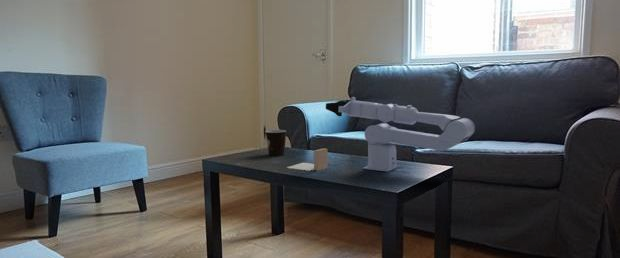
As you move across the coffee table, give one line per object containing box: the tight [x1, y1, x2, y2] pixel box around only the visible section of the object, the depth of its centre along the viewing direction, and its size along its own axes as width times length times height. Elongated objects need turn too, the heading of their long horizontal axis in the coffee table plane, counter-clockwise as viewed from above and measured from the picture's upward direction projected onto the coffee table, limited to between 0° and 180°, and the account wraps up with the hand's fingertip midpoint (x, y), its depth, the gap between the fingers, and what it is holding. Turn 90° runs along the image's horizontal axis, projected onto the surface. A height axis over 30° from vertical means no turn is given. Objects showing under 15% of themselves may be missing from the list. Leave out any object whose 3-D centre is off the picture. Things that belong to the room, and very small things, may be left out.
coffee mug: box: [265, 129, 287, 157], centre depth 188 cm, size 12×9×10 cm
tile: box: [313, 148, 329, 172], centre depth 160 cm, size 2×6×7 cm, turn 145°
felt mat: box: [286, 162, 314, 172], centre depth 164 cm, size 10×10×1 cm
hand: (331, 105), depth 168 cm, fingers open, 7 cm apart
